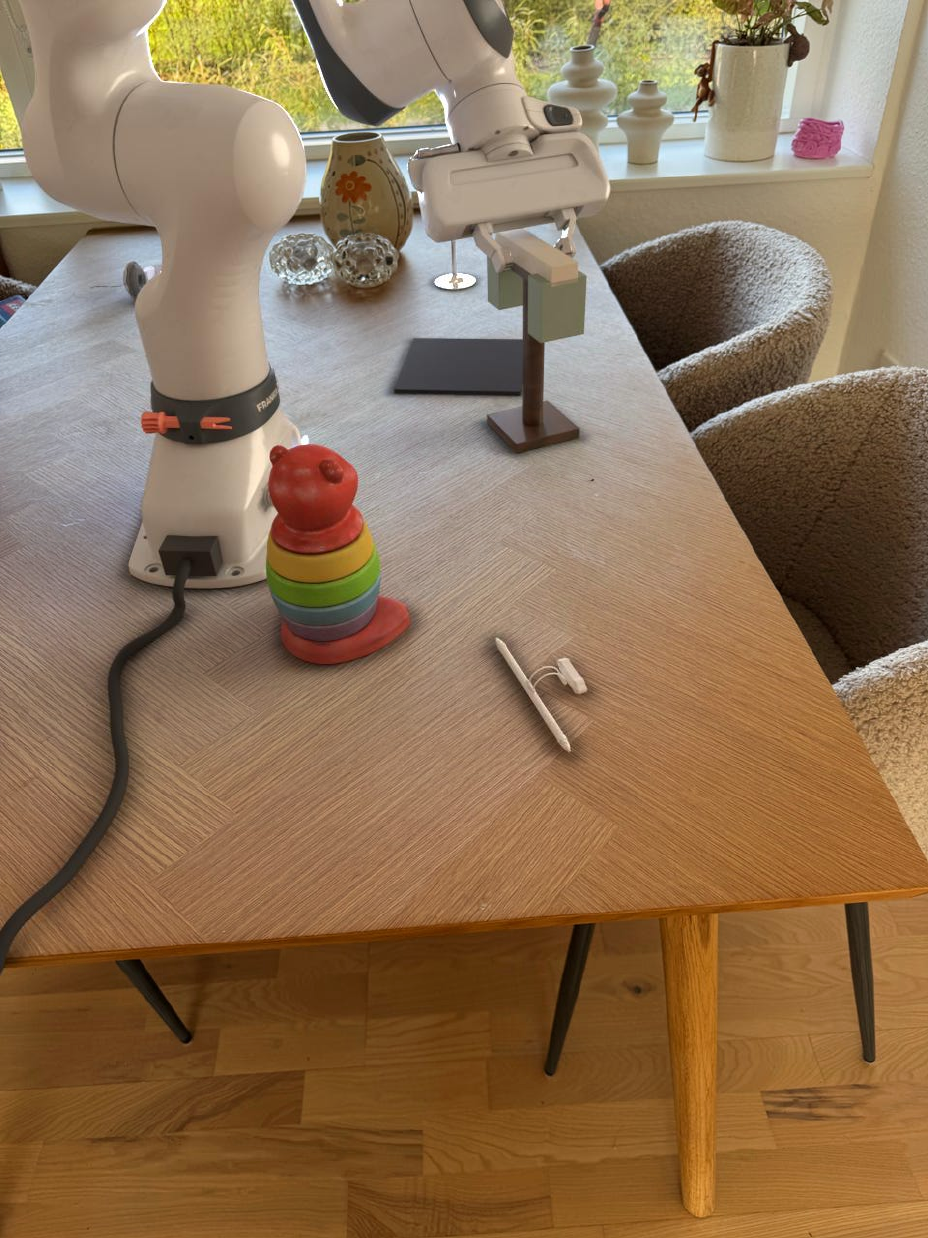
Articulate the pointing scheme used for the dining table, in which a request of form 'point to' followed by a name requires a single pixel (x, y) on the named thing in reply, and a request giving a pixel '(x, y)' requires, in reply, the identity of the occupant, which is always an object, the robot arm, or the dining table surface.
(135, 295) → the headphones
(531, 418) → the stand
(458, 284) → the wineglass
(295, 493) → the stacking bear
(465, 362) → the desk mat
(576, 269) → the sage green twin blocks
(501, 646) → the picture light
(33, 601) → the dining table surface
